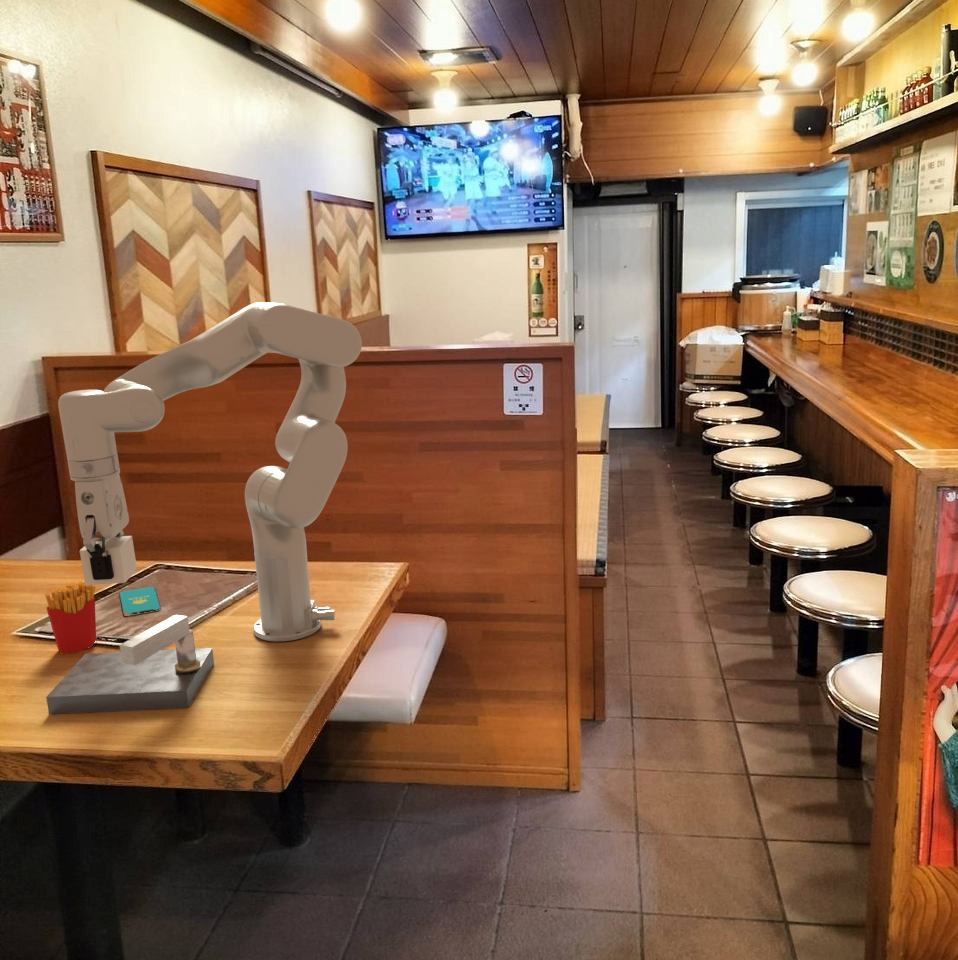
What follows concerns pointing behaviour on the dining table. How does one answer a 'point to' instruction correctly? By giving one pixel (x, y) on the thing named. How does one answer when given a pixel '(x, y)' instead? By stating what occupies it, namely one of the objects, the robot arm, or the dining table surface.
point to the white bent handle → (163, 644)
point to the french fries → (72, 616)
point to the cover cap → (113, 561)
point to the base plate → (128, 683)
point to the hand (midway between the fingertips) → (110, 570)
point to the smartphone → (139, 600)
